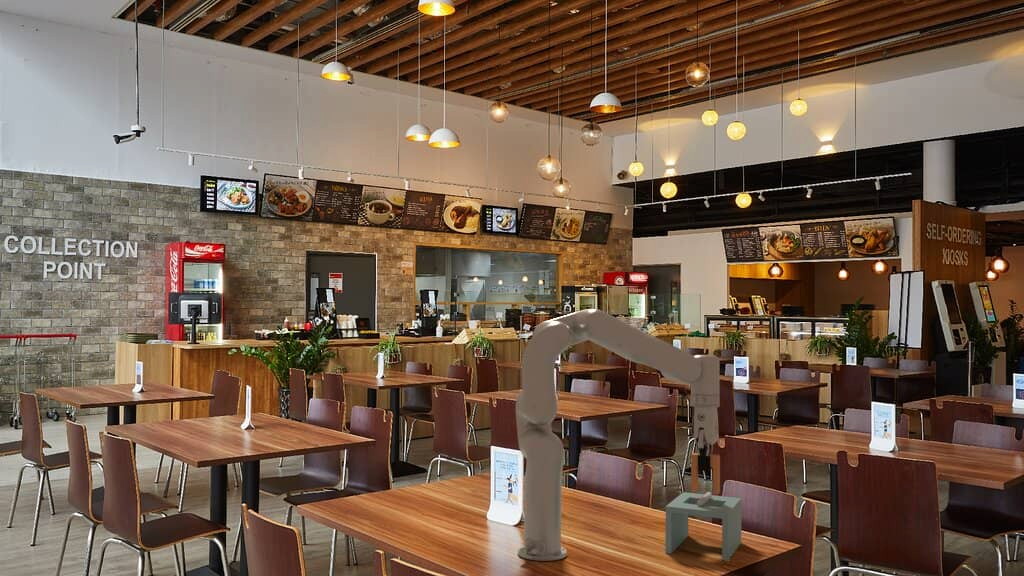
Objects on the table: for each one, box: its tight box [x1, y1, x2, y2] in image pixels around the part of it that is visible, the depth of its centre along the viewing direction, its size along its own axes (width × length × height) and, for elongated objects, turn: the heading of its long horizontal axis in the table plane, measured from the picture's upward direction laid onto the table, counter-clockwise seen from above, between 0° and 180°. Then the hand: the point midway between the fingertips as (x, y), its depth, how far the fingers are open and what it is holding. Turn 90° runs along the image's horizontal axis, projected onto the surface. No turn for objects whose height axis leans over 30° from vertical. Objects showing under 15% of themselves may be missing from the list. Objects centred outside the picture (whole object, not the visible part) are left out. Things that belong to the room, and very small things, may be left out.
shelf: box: [664, 491, 742, 562], centre depth 214 cm, size 20×16×14 cm
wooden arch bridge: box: [690, 452, 721, 496], centre depth 214 cm, size 7×3×10 cm, turn 65°
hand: (705, 468), depth 214 cm, fingers closed on wooden arch bridge, 3 cm apart
